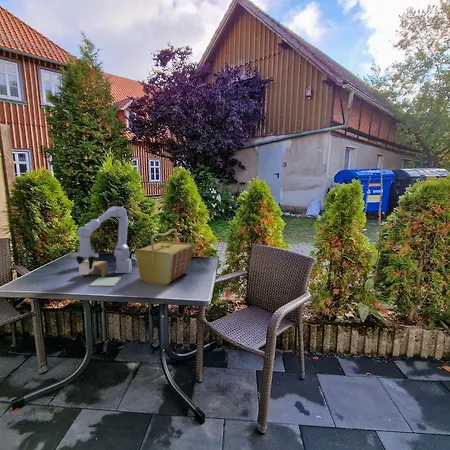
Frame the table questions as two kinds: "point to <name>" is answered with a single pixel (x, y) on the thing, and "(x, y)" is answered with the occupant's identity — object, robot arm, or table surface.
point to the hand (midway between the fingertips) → (86, 268)
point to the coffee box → (91, 251)
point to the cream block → (85, 268)
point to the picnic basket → (163, 260)
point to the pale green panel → (105, 281)
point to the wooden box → (99, 268)
